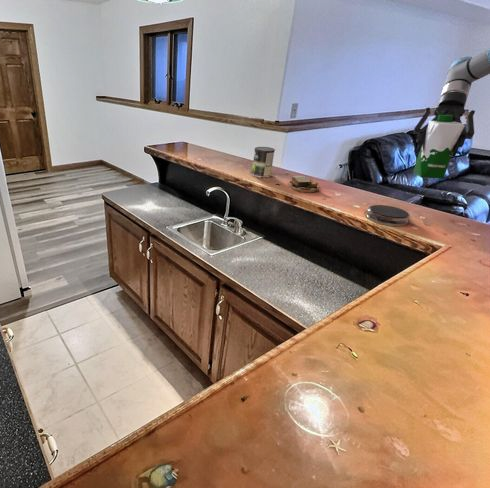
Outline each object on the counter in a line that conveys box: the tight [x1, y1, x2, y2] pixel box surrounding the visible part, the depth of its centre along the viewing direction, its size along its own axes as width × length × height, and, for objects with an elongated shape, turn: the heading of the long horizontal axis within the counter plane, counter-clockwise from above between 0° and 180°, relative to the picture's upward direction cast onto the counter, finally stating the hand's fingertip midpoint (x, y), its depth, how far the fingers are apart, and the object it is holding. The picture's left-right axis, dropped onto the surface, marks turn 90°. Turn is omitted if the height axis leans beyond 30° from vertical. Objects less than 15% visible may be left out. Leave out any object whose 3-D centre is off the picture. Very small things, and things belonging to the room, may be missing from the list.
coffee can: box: [251, 146, 276, 179], centre depth 185 cm, size 10×10×14 cm
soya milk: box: [413, 115, 466, 180], centre depth 119 cm, size 9×9×20 cm
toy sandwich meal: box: [289, 175, 319, 193], centre depth 167 cm, size 12×14×5 cm
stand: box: [365, 204, 411, 228], centre depth 134 cm, size 14×14×4 cm
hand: (436, 152), depth 117 cm, fingers closed on soya milk, 9 cm apart
